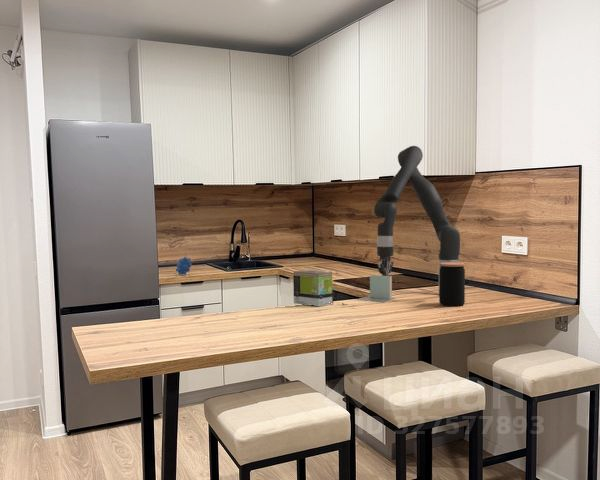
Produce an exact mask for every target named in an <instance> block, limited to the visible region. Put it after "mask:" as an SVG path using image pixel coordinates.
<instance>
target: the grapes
mask: <svg viewBox="0 0 600 480" xmlns="http://www.w3.org/2000/svg"><path fill="white" fill-rule="evenodd" d="M192 266H193V265H192V263H191V259H190V258H188V257H187V256H184V257H183V258H182V257H181V258H180V259H178V262H176V266H175V267H176V269H175V270H176V272H177V274H178V275H179V274H182V275H183V274H185V275H187V273H189V272H190V271H191V267H192Z"/></svg>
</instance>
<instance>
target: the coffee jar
mask: <svg viewBox="0 0 600 480" xmlns="http://www.w3.org/2000/svg"><path fill="white" fill-rule="evenodd" d="M465 266H466V264H465V263H464V262H458V263H456V262H445V263H440V267H441V268H440V270H439V269H438V295H439V301H438V302H439V304H440V305H441V306H444V307H452V308H453V307H454V308H456V307H463V306H464V305H465V302H466V301H465V300H466V299H465V298H466V297H465V296H466V294H465V293H466V287H465V286H466V283H465V282H466V280H465V279H466V272H465V271H466V269H465Z"/></svg>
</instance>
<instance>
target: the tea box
mask: <svg viewBox="0 0 600 480" xmlns="http://www.w3.org/2000/svg"><path fill="white" fill-rule="evenodd" d="M292 275H293V276H292V277H293V279H292V280H293V281H292V282H293V283H292V284H293V304H296V305H304V306H309V305H308V304H311V305H314V306H313V307H318V306H319V307H324V306H323V305H325V306H328V305H327V304H331V303H332V304H333V271H329V270H328V271H326V270H315V269H312V270H310V269H304V270H296V271H293V274H292ZM329 302H330V303H329ZM332 304H331V305H332ZM311 305H310V306H311Z"/></svg>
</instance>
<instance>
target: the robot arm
mask: <svg viewBox="0 0 600 480" xmlns="http://www.w3.org/2000/svg"><path fill="white" fill-rule="evenodd" d="M423 155H424V154H423V151H422V148H420V147H419V146H417V145H411V146H407V147H406V148H405V149H403V150H401V151H400V152H399V153H398V155H397V161H398V165H399V166H400V169H399V170H398V172H397V173H396V174H395V175H394V176H393V178H392V179H391V181H390V182H389V184H388V186H387V188H386V190H385V192H384V194H383V195H382V196H381V197H380V198H378V200H377V201H376V203H375V205H374V208H373V209H374V210H373V212H374V215H375V216H376V217H377V218H384V220H383V222H380V223H378V224H377V240H376V255H377V256H378V257H379V263H377V264H376V267H377V269H378V272H379V274H380V275H381V276H390V275H389V274H391V271H392V269H393V265H394V262H393V261H392V258H391V257H393V256H394V250H395V249H394V247H395V246H394V244H395V243H394V225H395V221H396V218H397V212H398V208H397V205H396V203H397V202H398V201H399V200H400V198H401V195H402V193H403V192H404V189H405V187H406V185H407V184H408V182H410V184H411V186H412V188H413V190H414V192H415V193H416V196H417V198H418V201H419V202H420V204H421V206H422V208H423V209H424V212H425V213H426V215H427V216H428V218H429V220H430V222H431V223H432V226H433V228H434V231H435V233H436V237H437V239H438V241H439V243H440V245H439V253H438V271H439V270H440V268H441V267H440V263H445V262H456V263H460V262H459V255H460V253H461V252H460V251H461V250H460V249H461V235H460V231H459V230H458V229H457V227H455V226H452V224H451V223H450V222H449V220H448V218H447V217H446V214H445V210H444V206H443V205H444V204H443V202H442V200H441V196H440V194H439V193H438V191H437V189H436V187H435V185H434V184H432V182H431V181H429V180H428V179H427V178H426V177H424V176H423V174H422V173H421V172H420V171H419V169H418V166H419V165H420V163H421V161H422V160H423V157H424V156H423Z"/></svg>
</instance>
